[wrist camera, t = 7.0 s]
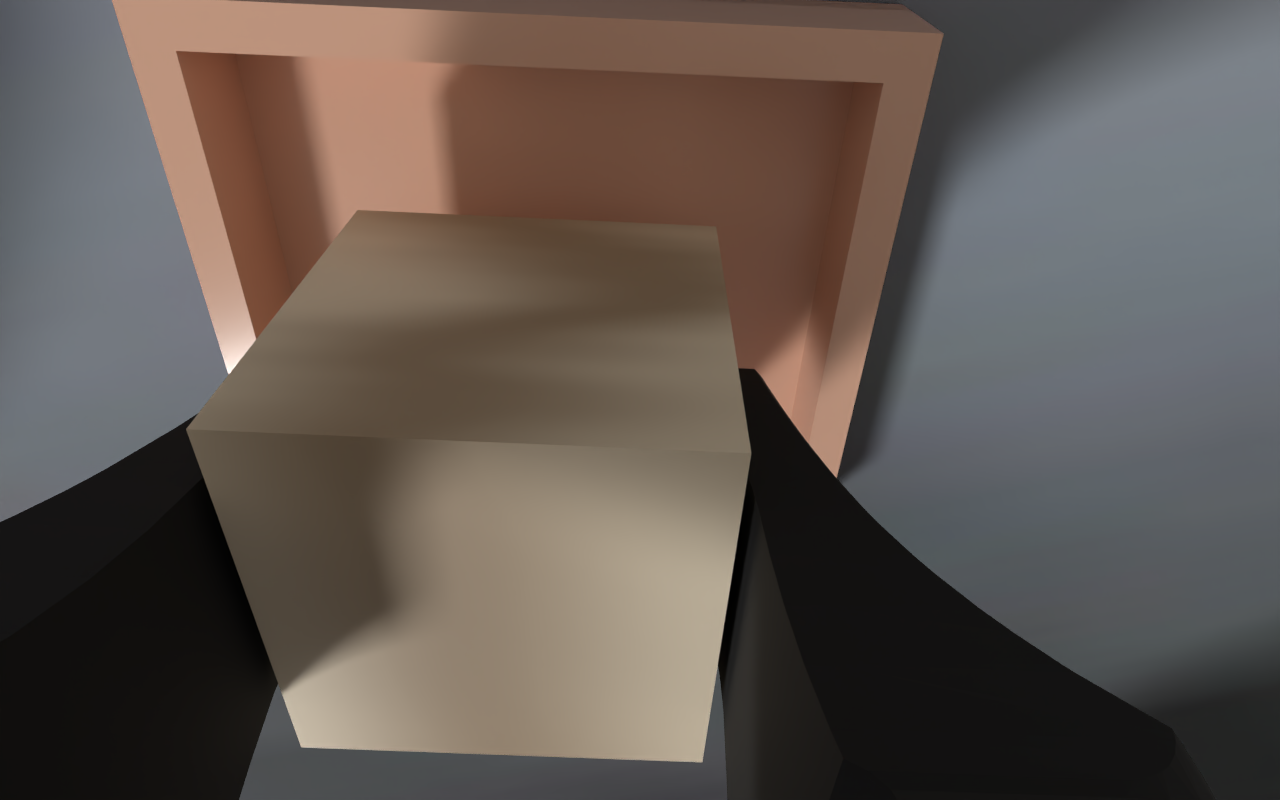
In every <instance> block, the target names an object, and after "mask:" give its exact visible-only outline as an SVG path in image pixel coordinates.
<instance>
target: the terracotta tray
mask: <svg viewBox="0 0 1280 800" xmlns="http://www.w3.org/2000/svg"><path fill="white" fill-rule="evenodd" d="M112 2H113V5H114V8H115V12H116V15H117V18H118V21H119V24H120V28H121V31H122V34H123V37H124V40H125V44H126V47H127V50H128V53H129V57H130V60H131V63H132V66H133V69H134V73H135V76H136V79H137V82H138V85H139V89H140V92H141V95H142V98H143V101H144V105H145V108H146V111H147V114H148V118H149V121H150V124H151V127H152V130H153V134H154V137H155V140H156V143H157V146H158V150H159V153H160V156H161V159H162V162H163V166H164V169H165V172H166V175H167V179H168V182H169V185H170V188H171V191H172V195H173V198H174V201H175V204H176V207H177V211H178V214H179V217H180V220H181V223H182V227H183V230H184V233H185V236H186V240H187V243H188V246H189V249H190V252H191V256H192V259H193V262H194V265H195V268H196V272H197V275H198V278H199V281H200V284H201V288H202V291H203V294H204V297H205V301H206V304H207V307H208V310H209V313H210V317H211V320H212V323H213V326H214V329H215V333H216V336H217V339H218V342H219V346H220V349H221V352H222V355H223V358H224V362H225V365H226V368H227V371H228V374H230V372H231V371H232V370H233V369H234V367H235V366H236V365H237V363H238V362H239V361H240V360H241V358H242V357H243V356H244V354H245V353H246V352H247V351H248V349H249V348H250V347H251V346H252V344H253V343H254V342H255V340H256V339H257V338H258V337H259V335H260V334H261V333H262V331H263V330H264V329H265V328H266V326H267V325H268V324H269V323H270V321H271V320H272V319H273V317H274V316H275V315H276V314H277V312H278V311H279V310H280V308H281V307H282V306H283V305H284V303H285V302H286V301H287V299H288V298H289V297H290V296H291V294H292V293H293V292H294V291H295V289H296V288H297V287H298V285H299V284H300V283H301V282H302V280H303V279H304V278H305V276H306V275H307V274H308V273H309V271H310V270H311V269H312V268H313V266H314V265H315V264H316V262H317V261H318V260H319V259H320V257H321V256H322V255H323V253H324V252H325V251H326V250H327V248H328V247H329V246H330V245H331V243H332V242H333V241H334V239H335V238H336V237H337V236H338V234H339V233H340V232H341V230H342V229H343V228H344V227H345V225H346V224H347V223H348V221H349V220H350V219H351V218H352V216H353V215H354V214H355V213H356V211H357V210H370V211H392V212H413V213H435V214H457V215H479V216H501V217H522V218H544V219H566V220H588V221H610V222H632V223H653V224H675V225H697V226H716V229H717V235H718V242H719V248H720V254H721V261H722V267H723V274H724V280H725V287H726V293H727V299H728V306H729V312H730V319H731V325H732V332H733V338H734V345H735V351H736V357H737V364H738V368H745V369H755V370H756V371H757V372H758V373H759V374H760V376H761V377H762V378H763V380H764V381H765V383H766V384H767V386H768V387H769V389H770V390H771V392H772V393H773V395H774V396H775V398H776V399H777V401H778V402H779V404H780V405H781V407H782V408H783V410H784V411H785V412H786V414H787V415H788V417H789V418H790V419H791V421H792V422H793V424H794V425H795V426H796V428H797V429H798V430H799V432H800V433H801V434H802V436H803V437H804V438H805V440H806V441H807V442H808V443H809V445H810V446H811V447H812V449H813V450H814V451H815V452H816V454H817V455H818V456H819V457H820V459H821V460H822V461H823V462H824V464H825V465H826V466H827V467H828V469H829V470H830V471H831V472H832V473H833V474H834V476H835V477H836V478H837V474H838V470H839V466H840V462H841V458H842V454H843V450H844V445H845V441H846V437H847V433H848V429H849V425H850V421H851V416H852V412H853V408H854V404H855V400H856V396H857V391H858V387H859V383H860V379H861V375H862V371H863V367H864V362H865V358H866V354H867V350H868V346H869V342H870V338H871V333H872V329H873V325H874V321H875V317H876V313H877V309H878V304H879V300H880V296H881V292H882V288H883V284H884V279H885V275H886V271H887V267H888V263H889V259H890V255H891V250H892V246H893V242H894V238H895V234H896V230H897V226H898V221H899V217H900V213H901V209H902V205H903V201H904V196H905V192H906V188H907V184H908V180H909V176H910V172H911V167H912V163H913V159H914V155H915V151H916V147H917V143H918V138H919V134H920V130H921V126H922V122H923V118H924V114H925V109H926V105H927V101H928V97H929V93H930V89H931V84H932V80H933V76H934V72H935V68H936V64H937V60H938V55H939V51H940V47H941V43H942V39H943V35H944V33H942V32H941V31H939V30H938V29H936V28H935V27H934V26H932V25H931V24H929V23H928V22H927V21H925V20H924V19H922V18H921V17H919V16H918V15H917V14H915V13H914V12H912V11H911V10H910V9H908V8H907V7H905V6H904V5H902V4H886V3H864V2H843V1H821V0H112Z"/></svg>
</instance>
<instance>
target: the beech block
mask: <svg viewBox="0 0 1280 800" xmlns="http://www.w3.org/2000/svg"><path fill="white" fill-rule="evenodd" d="M186 431H187V433H188V436H189V439H190V442H191V444H192V447H193V450H194V453H195V455H196V458H197V461H198V464H199V466H200V469H201V472H202V475H203V477H204V480H205V483H206V486H207V488H208V491H209V494H210V497H211V499H212V502H213V505H214V508H215V510H216V513H217V516H218V519H219V522H220V524H221V527H222V530H223V533H224V535H225V538H226V541H227V544H228V546H229V549H230V552H231V555H232V557H233V560H234V563H235V566H236V568H237V571H238V574H239V577H240V579H241V582H242V585H243V588H244V590H245V593H246V596H247V599H248V601H249V604H250V607H251V610H252V612H253V615H254V618H255V621H256V623H257V626H258V629H259V632H260V634H261V637H262V640H263V643H264V646H265V648H266V651H267V654H268V657H269V659H270V662H271V665H272V668H273V670H274V673H275V676H276V679H277V681H278V684H279V687H280V690H281V692H282V695H283V698H284V701H285V703H286V706H287V709H288V712H289V714H290V717H291V720H292V723H293V725H294V728H295V731H296V734H297V736H298V739H299V742H300V745H301V747H307V748H334V749H360V750H387V751H414V752H441V753H467V754H494V755H521V756H547V757H574V758H601V759H628V760H654V761H681V762H702V761H703V754H704V748H705V742H706V735H707V729H708V723H709V717H710V710H711V704H712V698H713V691H714V685H715V679H716V673H717V666H718V660H719V654H720V647H721V641H722V635H723V629H724V622H725V616H726V610H727V603H728V597H729V591H730V585H731V578H732V572H733V566H734V559H735V553H736V547H737V540H738V534H739V528H740V522H741V515H742V509H743V503H744V496H745V490H746V484H747V478H748V471H749V465H750V459H751V448H750V441H749V435H748V428H747V422H746V415H745V409H744V402H743V396H742V390H741V383H740V377H739V370H738V364H737V357H736V351H735V345H734V338H733V332H732V325H731V319H730V312H729V306H728V299H727V293H726V287H725V280H724V274H723V267H722V261H721V254H720V248H719V242H718V235H717V229H716V226H697V225H675V224H653V223H632V222H610V221H588V220H566V219H544V218H522V217H501V216H479V215H457V214H435V213H413V212H392V211H370V210H357V211H356V213H355V214H354V215H353V216H352V218H351V219H350V220H349V221H348V223H347V224H346V225H345V227H344V228H343V229H342V230H341V232H340V233H339V234H338V236H337V237H336V238H335V239H334V241H333V242H332V243H331V245H330V246H329V247H328V248H327V250H326V251H325V252H324V253H323V255H322V256H321V257H320V259H319V260H318V261H317V262H316V264H315V265H314V266H313V268H312V269H311V270H310V271H309V273H308V274H307V275H306V276H305V278H304V279H303V280H302V282H301V283H300V284H299V285H298V287H297V288H296V289H295V291H294V292H293V293H292V294H291V296H290V297H289V298H288V299H287V301H286V302H285V303H284V305H283V306H282V307H281V308H280V310H279V311H278V312H277V314H276V315H275V316H274V317H273V319H272V320H271V321H270V323H269V324H268V325H267V326H266V328H265V329H264V330H263V331H262V333H261V334H260V335H259V337H258V338H257V339H256V340H255V342H254V343H253V344H252V346H251V347H250V348H249V349H248V351H247V352H246V353H245V354H244V356H243V357H242V358H241V360H240V361H239V362H238V363H237V365H236V366H235V367H234V369H233V370H232V371H231V372H230V374H229V375H228V376H227V378H226V379H225V380H224V381H223V383H222V384H221V385H220V386H219V388H218V389H217V390H216V392H215V393H214V394H213V395H212V397H211V398H210V399H209V401H208V402H207V403H206V404H205V406H204V407H203V408H202V409H201V411H200V412H199V413H198V415H197V416H196V417H195V418H194V420H193V421H192V422H191V424H190V425H189V426H188V427H187V429H186Z"/></svg>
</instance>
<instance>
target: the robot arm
mask: <svg viewBox="0 0 1280 800" xmlns="http://www.w3.org/2000/svg"><path fill="white" fill-rule="evenodd" d="M738 370H739V377H740V383H741V390H742V396H743V402H744V409H745V415H746V422H747V428H748V435H749V441H750V448H751V459H750V465H749V471H748V478H747V484H746V490H745V496H744V503H743V509H742V515H741V522H740V528H739V534H738V540H737V547H736V553H735V559H734V566H733V572H732V578H731V585H730V591H729V597H728V603H727V610H726V616H725V622H724V629H723V635H722V641H721V647H720V654H719V660H718V667H719V674H720V681H721V691H722V701H723V711H724V731H725V753H726V774H727V798H728V800H1216V799H1215V798H1214V796H1213V794H1212V792H1211V790H1210V789H1209V787H1208V785H1207V783H1206V781H1205V779H1204V778H1203V776H1202V774H1201V773H1200V771H1199V770H1198V768H1197V766H1196V765H1195V763H1194V762H1193V760H1192V759H1191V757H1190V756H1189V754H1188V753H1187V751H1186V749H1185V748H1184V746H1183V745H1182V743H1181V742H1180V740H1179V739H1178V737H1177V736H1176V734H1175V733H1174V732H1173V730H1172V729H1171V728H1170V727H1168V726H1166V725H1164V724H1163V723H1161V722H1159V721H1158V720H1156V719H1154V718H1152V717H1151V716H1149V715H1147V714H1145V713H1144V712H1142V711H1140V710H1139V709H1137V708H1135V707H1133V706H1132V705H1130V704H1128V703H1126V702H1125V701H1123V700H1121V699H1119V698H1118V697H1116V696H1114V695H1113V694H1111V693H1109V692H1107V691H1106V690H1104V689H1102V688H1100V687H1099V686H1097V685H1095V684H1093V683H1092V682H1090V681H1088V680H1087V679H1085V678H1083V677H1081V676H1080V675H1078V674H1076V673H1074V672H1073V671H1071V670H1070V669H1068V668H1066V667H1065V666H1063V665H1062V664H1060V663H1059V662H1057V661H1056V660H1054V659H1053V658H1051V657H1050V656H1048V655H1047V654H1045V653H1043V652H1042V651H1040V650H1039V649H1037V648H1036V647H1034V646H1033V645H1031V644H1030V643H1028V642H1027V641H1025V640H1024V639H1022V638H1021V637H1019V636H1018V635H1016V634H1015V633H1013V632H1012V631H1010V630H1009V629H1008V628H1006V627H1005V626H1003V625H1002V624H1001V623H999V622H998V621H996V620H995V619H993V618H992V617H991V616H989V615H988V614H986V613H985V612H984V611H982V610H981V609H980V608H978V607H977V606H976V605H974V604H973V603H972V602H970V601H969V600H968V599H967V598H965V597H964V596H963V595H961V594H960V593H959V592H958V591H956V590H955V589H954V588H952V587H951V586H950V585H949V584H947V583H946V582H945V581H943V580H942V579H941V578H940V577H938V576H937V575H936V574H935V573H933V572H932V571H931V570H930V569H929V568H928V567H926V566H925V565H924V564H923V563H922V562H920V561H919V560H918V559H917V558H916V557H915V556H913V555H912V554H911V553H910V552H909V551H908V550H907V549H906V548H905V547H904V546H902V545H901V544H900V543H899V542H898V541H897V540H896V539H895V538H894V537H893V536H892V535H891V534H889V533H888V532H887V531H886V530H885V529H884V528H883V527H882V526H881V525H880V524H879V523H878V522H877V521H876V520H875V519H874V518H873V517H872V516H871V515H870V514H869V513H868V512H867V511H866V510H865V509H864V508H863V507H862V506H861V505H860V504H859V503H858V502H857V500H856V499H855V498H854V497H853V496H852V495H851V494H850V493H849V492H848V490H847V489H846V488H845V487H844V486H843V485H842V484H841V483H840V482H839V480H838V479H837V478H836V477H835V476H834V474H833V473H832V472H831V471H830V470H829V469H828V467H827V466H826V465H825V464H824V462H823V461H822V460H821V459H820V457H819V456H818V455H817V454H816V452H815V451H814V450H813V449H812V447H811V446H810V445H809V443H808V442H807V441H806V440H805V438H804V437H803V436H802V434H801V433H800V432H799V430H798V429H797V428H796V426H795V425H794V424H793V422H792V421H791V419H790V418H789V417H788V415H787V414H786V412H785V411H784V410H783V408H782V407H781V405H780V404H779V402H778V401H777V399H776V398H775V396H774V395H773V393H772V392H771V390H770V389H769V387H768V386H767V384H766V383H765V381H764V380H763V378H762V377H761V376H760V374H759V373H758V372H757V371H756V370H755V369H745V368H738ZM197 415H198V414H197ZM197 415H195V416H193V417H192V418H190V419H189V420H187V421H186V422H184V423H183V424H181V425H179V426H178V427H176V428H175V429H173V430H171V431H170V432H168V433H166V434H164V435H163V436H161V437H159V438H158V439H156V440H154V441H153V442H151V443H149V444H148V445H146V446H144V447H142V448H141V449H139V450H137V451H136V452H134V453H132V454H131V455H129V456H127V457H126V458H124V459H122V460H121V461H119V462H117V463H115V464H114V465H112V466H110V467H109V468H107V469H105V470H103V471H101V472H100V473H98V474H96V475H94V476H92V477H91V478H89V479H87V480H85V481H83V482H81V483H79V484H77V485H75V486H73V487H72V488H70V489H68V490H66V491H64V492H62V493H60V494H58V495H56V496H54V497H52V498H50V499H48V500H46V501H44V502H42V503H39V504H37V505H35V506H33V507H31V508H29V509H27V510H25V511H23V512H21V513H19V514H17V515H15V516H13V517H11V518H8V519H6V520H4V521H2V522H0V800H239V797H240V794H241V791H242V788H243V785H244V781H245V778H246V775H247V772H248V769H249V765H250V762H251V759H252V756H253V753H254V750H255V747H256V744H257V741H258V739H259V736H260V733H261V730H262V727H263V724H264V721H265V718H266V715H267V712H268V709H269V706H270V703H271V700H272V697H273V694H274V692H275V689H276V687H277V685H278V681H277V679H276V676H275V673H274V670H273V668H272V665H271V662H270V659H269V657H268V654H267V651H266V648H265V646H264V643H263V640H262V637H261V634H260V632H259V629H258V626H257V623H256V621H255V618H254V615H253V612H252V610H251V607H250V604H249V601H248V599H247V596H246V593H245V590H244V588H243V585H242V582H241V579H240V577H239V574H238V571H237V568H236V566H235V563H234V560H233V557H232V555H231V552H230V549H229V546H228V544H227V541H226V538H225V535H224V533H223V530H222V527H221V524H220V522H219V519H218V516H217V513H216V510H215V508H214V505H213V502H212V499H211V497H210V494H209V491H208V488H207V486H206V483H205V480H204V477H203V475H202V472H201V469H200V466H199V464H198V461H197V458H196V455H195V453H194V450H193V447H192V444H191V442H190V439H189V436H188V433H187V431H186V429H187V427H188V426H189V425H190V424H191V422H192V421H193V420H194V418H195V417H196V416H197Z"/></svg>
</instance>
